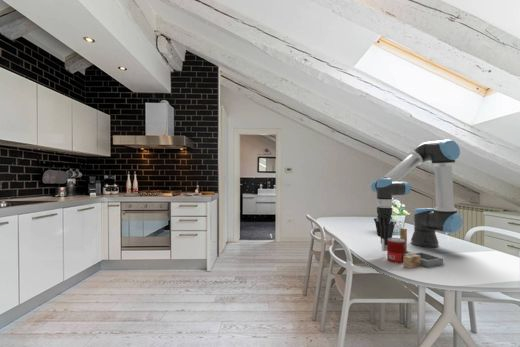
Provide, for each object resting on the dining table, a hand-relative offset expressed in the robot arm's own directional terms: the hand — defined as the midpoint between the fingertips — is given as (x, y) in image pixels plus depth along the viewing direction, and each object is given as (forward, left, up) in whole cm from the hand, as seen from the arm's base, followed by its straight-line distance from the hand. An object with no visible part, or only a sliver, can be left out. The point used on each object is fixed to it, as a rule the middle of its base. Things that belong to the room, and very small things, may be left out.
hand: (384, 250), depth 152 cm
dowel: (-9, +4, -3) cm, 11 cm away
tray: (-10, +15, -3) cm, 18 cm away
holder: (-9, +4, -3) cm, 11 cm away
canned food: (+1, +8, -3) cm, 8 cm away
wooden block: (+1, +17, -3) cm, 17 cm away
